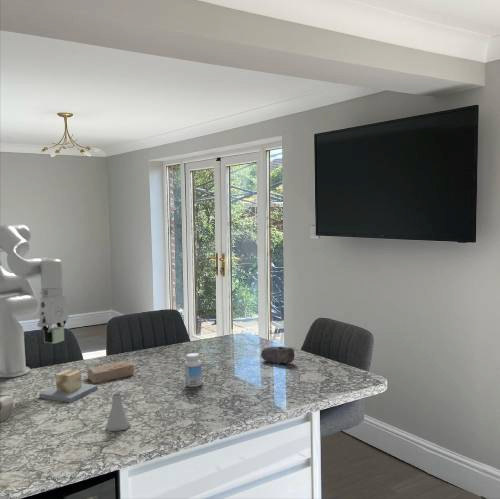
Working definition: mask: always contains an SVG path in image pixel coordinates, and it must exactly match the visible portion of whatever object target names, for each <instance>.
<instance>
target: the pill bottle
mask: <svg viewBox="0 0 500 499" xmlns="http://www.w3.org/2000/svg"><path fill="white" fill-rule="evenodd" d="M185 356H186V358H185V359H186V360H185V361H184V377H185V385H186V386H187V387H190V388H195V387H196V388H197V387H199V386H201V385H202V384H203V371H202V368H203V367H202V361H201V360H200V354H199V353H197V352H194V353H193V352H192V353H187V354H186V355H185Z"/></svg>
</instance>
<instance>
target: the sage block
mask: <svg viewBox="0 0 500 499" xmlns="http://www.w3.org/2000/svg"><path fill="white" fill-rule="evenodd" d="M50 332H52V342H51V343H50V344H58V343H61V342H63V341H65V326H64V327H57V326H56V325H55V326H51V331H50ZM43 341H44V343H45V344H47V343H48V342H45V337H44V336H43ZM48 344H49V343H48Z"/></svg>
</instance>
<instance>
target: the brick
mask: <svg viewBox="0 0 500 499" xmlns="http://www.w3.org/2000/svg"><path fill="white" fill-rule="evenodd" d="M134 373H135V367H134V363H133V362H131V361H128V360H120V361H117V362H113V363H110V364H109V363H108V364H103V365H97V366H92V367H89V368H88V370H87V379H88V380H89V381H90V382H91V383H93V384H95V383H100V382H106V381H111V380H115V379H121V378H125V377H129V376H132V375H133V374H134Z"/></svg>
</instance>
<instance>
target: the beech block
mask: <svg viewBox="0 0 500 499" xmlns="http://www.w3.org/2000/svg"><path fill="white" fill-rule="evenodd" d="M55 381H56V382H55V383H56V385H55V387H57V391H61V392H68V393H70V392H73V391H75V390H77V389H79V388H81V387H82V384H81V383H82V371H80V370H74V369H65V370H63V371H61V372H58V373H56V374H55Z"/></svg>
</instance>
